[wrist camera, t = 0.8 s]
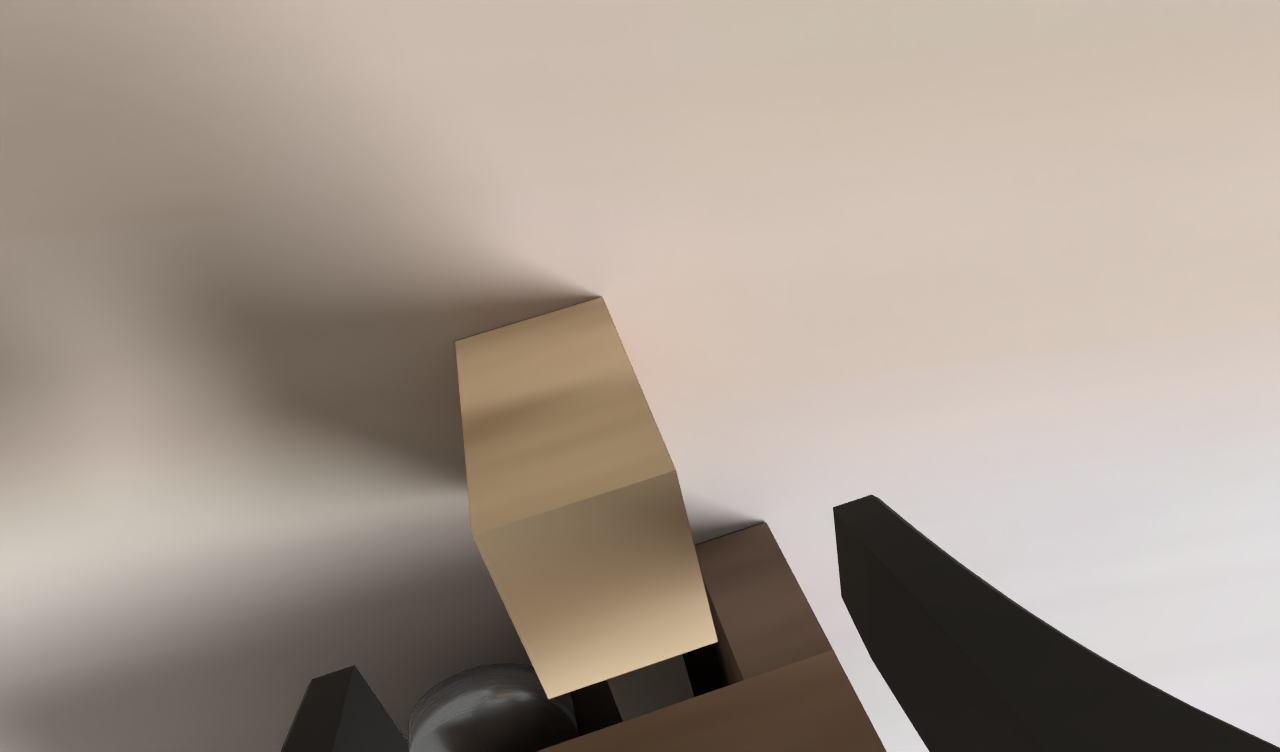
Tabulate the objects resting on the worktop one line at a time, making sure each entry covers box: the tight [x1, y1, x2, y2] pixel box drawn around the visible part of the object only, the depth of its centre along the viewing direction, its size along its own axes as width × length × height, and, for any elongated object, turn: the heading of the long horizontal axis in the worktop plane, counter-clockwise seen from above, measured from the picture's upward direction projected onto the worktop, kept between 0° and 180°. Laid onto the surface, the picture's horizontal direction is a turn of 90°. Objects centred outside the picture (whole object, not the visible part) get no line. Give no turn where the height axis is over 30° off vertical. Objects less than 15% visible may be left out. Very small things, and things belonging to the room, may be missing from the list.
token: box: [409, 664, 579, 752], centre depth 22 cm, size 4×4×2 cm
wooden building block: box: [455, 297, 718, 722], centre depth 18 cm, size 15×3×6 cm, turn 12°
